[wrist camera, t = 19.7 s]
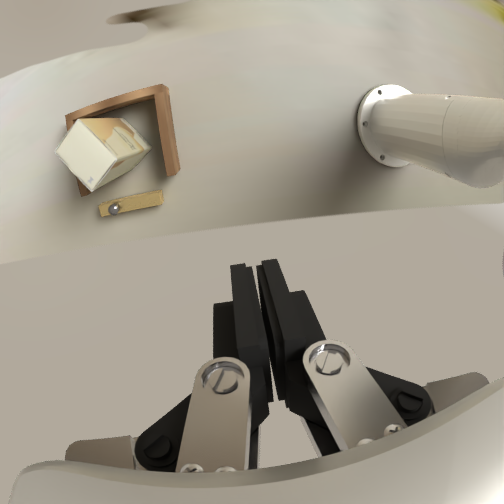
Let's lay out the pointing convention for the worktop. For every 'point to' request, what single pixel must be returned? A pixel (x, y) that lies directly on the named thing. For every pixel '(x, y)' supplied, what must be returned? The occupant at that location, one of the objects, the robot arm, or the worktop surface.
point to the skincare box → (101, 150)
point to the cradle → (134, 97)
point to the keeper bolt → (131, 203)
